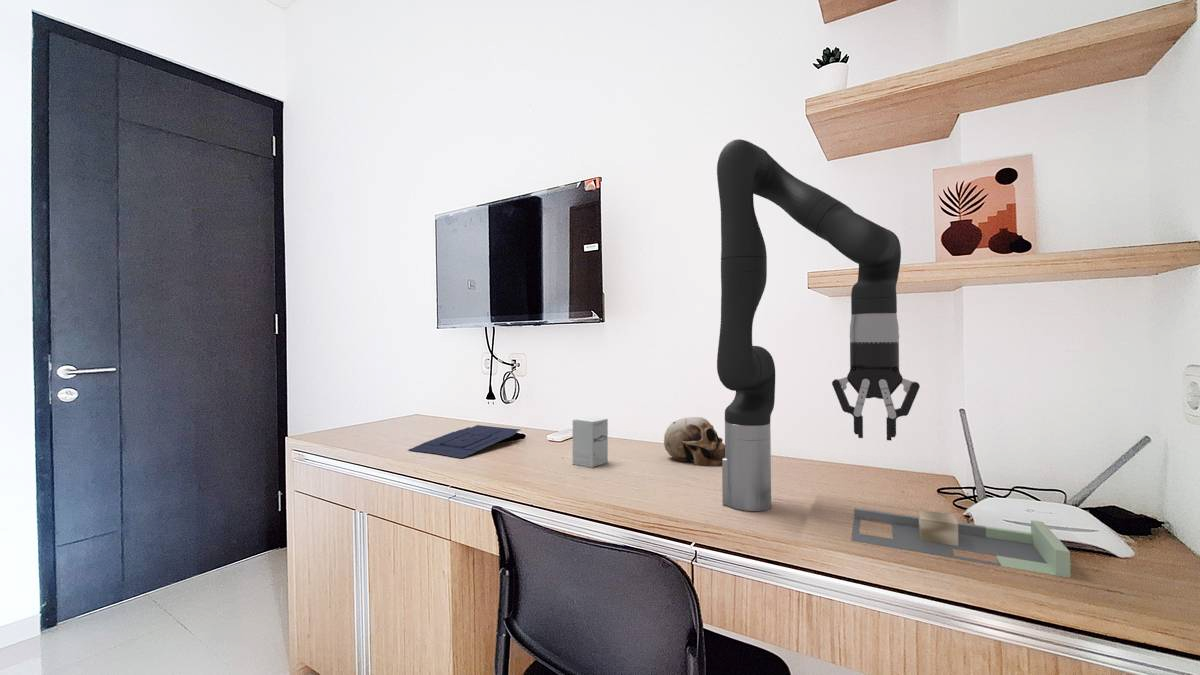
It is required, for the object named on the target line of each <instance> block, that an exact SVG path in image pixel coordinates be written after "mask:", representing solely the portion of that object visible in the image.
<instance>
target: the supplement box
mask: <svg viewBox="0 0 1200 675" xmlns="http://www.w3.org/2000/svg"><path fill="white" fill-rule="evenodd" d="M608 424H609V423H608V418H605V417H596V416H586V417H581V418H576V419H573V420H572V464H573V465H575V466H581V467H586V468H591V469H592V468H595V467H598V466H600V465H603V464H604V465H605V464H608V456H609V455H608V453H609V451H608V450H609V449H608V448H609V447H608V446H609V444H608V440H609V439H608V438H609V437H608V435H609V433H608V432H609V431H608V427H609V426H608Z"/></svg>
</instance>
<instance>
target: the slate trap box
mask: <svg viewBox="0 0 1200 675" xmlns="http://www.w3.org/2000/svg"><path fill="white" fill-rule="evenodd" d="M853 511H854V512H853V514H854V515H853V525H852V531H851V537H850V538H851V540H850V541H851V542H856V543H863V544H869V545H874V546H881V547H886V548H893V549H897V550H898V549H899V550H904V551H910V552H915V553H922V554H927V555H934V556H940V557H944V558H945V557H946V558H949V559H957V560H962V561H964V560H965V561H969V562H975V563H981V564H986V565H992V566H998V567H1002V568H1003V567H1006V568H1010V569H1011V568H1012V569H1016V570H1022V571H1029V572H1033V573H1034V572H1035V573H1039V574H1045V575H1051V576H1056V577H1057V576H1058V577H1064V578H1071V551H1070V550H1069V549H1068V548H1067V547H1066V546H1065V544H1064V543H1063V542H1062V541H1061V540H1060V539H1059V538H1058V536H1056V535H1055V533H1054V532H1053V531H1052V530H1051V529H1050V528H1049V527H1048V526H1047V524H1045V522H1044V521H1039V520H1032V519H1031V520H1030V532H1029V531H1023V530H1022V531H1021V530H1014V529H1008V528H1007V529H1006V528H1001V527H995V526H994V527H993V526H988V525H987V526H986V525H979V524H972V523H966V522H965V523H964V522H958V521H957V523H958V546H955V545H948V544H942V543H936V542H929V541H923V540H921V538H920V533H919V516H914V515H908V514H907V515H906V514H900V513H894V512H893V513H892V512H885V511H879V510H872V509H865V508H857V507H854V508H853ZM861 520H866V521H873V522H879V523H886V524H891V530H892V538H890V537H884V536H879V535H871V534H866V533H860V528H861V527H860V525H861ZM954 550H958V551H965V552H969V553H977V554H981V555H982V554H983V555H989V556H995V557H996V559H997V560H998V562H996V561H990V560H984V559H983V560H982V559H979V558H972V557H971V558H970V557H966V556H958V555H955V553H954Z"/></svg>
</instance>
